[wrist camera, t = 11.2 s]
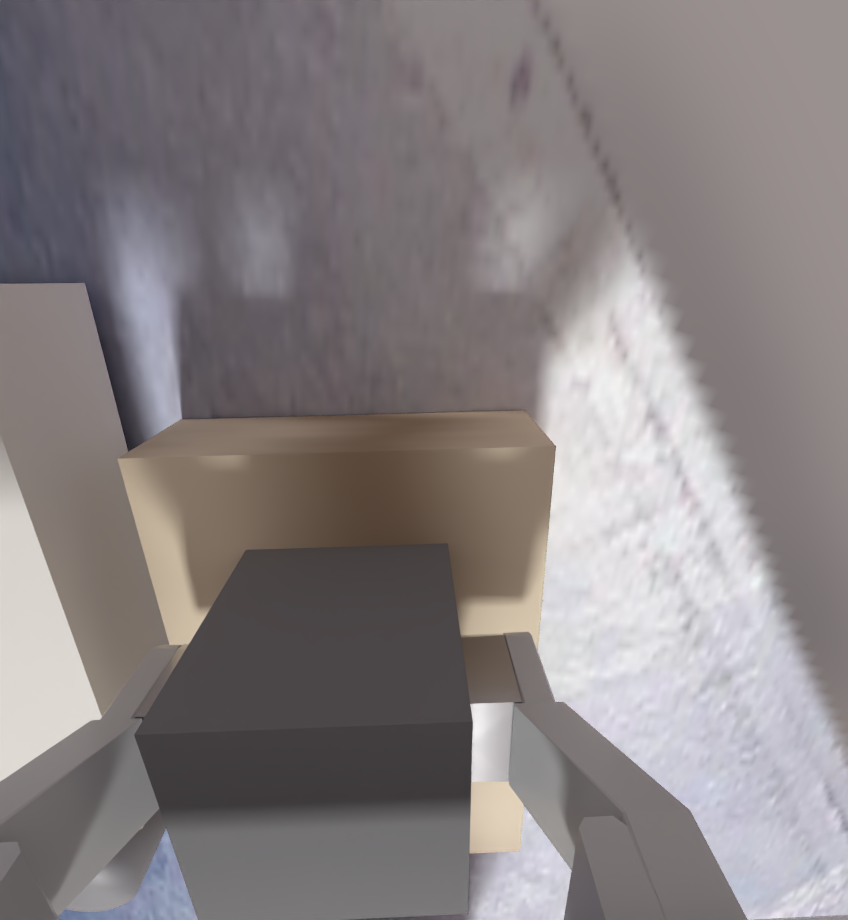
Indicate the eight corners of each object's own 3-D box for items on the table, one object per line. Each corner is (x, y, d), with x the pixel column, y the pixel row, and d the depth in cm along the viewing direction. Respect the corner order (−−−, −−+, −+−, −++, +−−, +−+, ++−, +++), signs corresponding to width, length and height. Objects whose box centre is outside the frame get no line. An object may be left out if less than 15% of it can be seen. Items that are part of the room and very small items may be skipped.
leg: (210, 772, 15) (155, 909, 11) (114, 775, 15) (31, 914, 11) (84, 283, 9) (-81, 285, 6) (-68, 284, 9) (-314, 287, 6)
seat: (103, 780, 15) (47, 872, 13) (-39, 425, 11) (-165, 466, 8) (503, 763, 15) (520, 851, 13) (524, 410, 11) (555, 445, 9)
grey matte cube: (273, 700, 11) (200, 926, 7) (246, 549, 9) (133, 735, 5) (447, 693, 11) (468, 913, 7) (447, 543, 9) (472, 721, 6)
